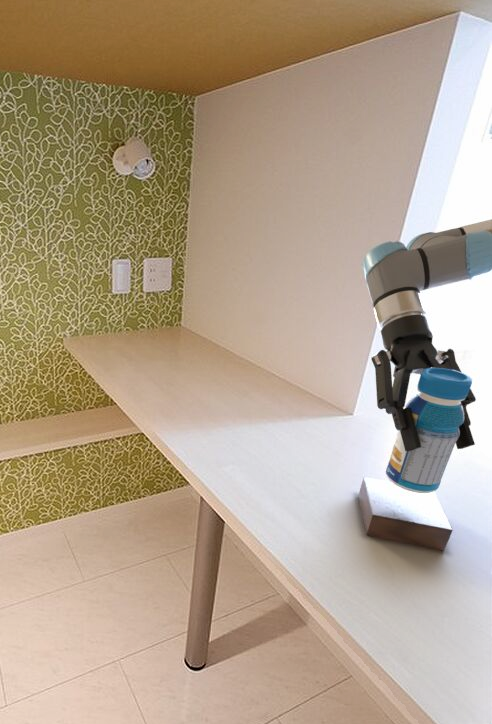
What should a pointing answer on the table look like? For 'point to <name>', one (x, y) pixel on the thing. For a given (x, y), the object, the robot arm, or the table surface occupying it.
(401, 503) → the riser
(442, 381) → the beverage bottle
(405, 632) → the table surface
